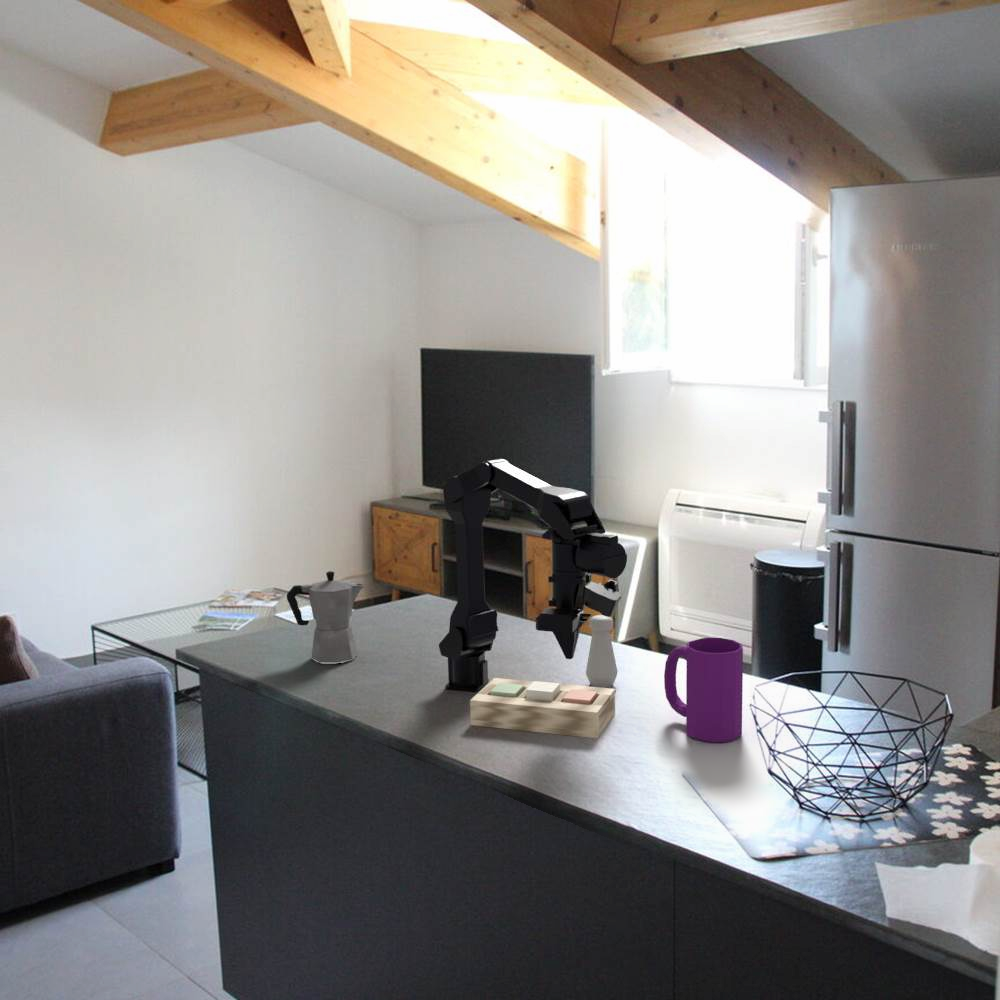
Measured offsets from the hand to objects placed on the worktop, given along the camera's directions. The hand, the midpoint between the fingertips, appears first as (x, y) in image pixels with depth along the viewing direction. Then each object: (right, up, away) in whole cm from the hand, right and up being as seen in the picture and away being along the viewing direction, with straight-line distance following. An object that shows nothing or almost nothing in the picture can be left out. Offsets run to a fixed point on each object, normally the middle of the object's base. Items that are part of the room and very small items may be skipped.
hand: (569, 658), depth 194 cm
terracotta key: (+2, -9, 0) cm, 10 cm away
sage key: (-10, -9, +5) cm, 14 cm away
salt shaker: (+7, -8, +20) cm, 22 cm away
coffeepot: (-46, -6, +40) cm, 61 cm away
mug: (+21, -11, -3) cm, 24 cm away
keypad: (-4, -11, +3) cm, 12 cm away
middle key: (-4, -8, +2) cm, 10 cm away
